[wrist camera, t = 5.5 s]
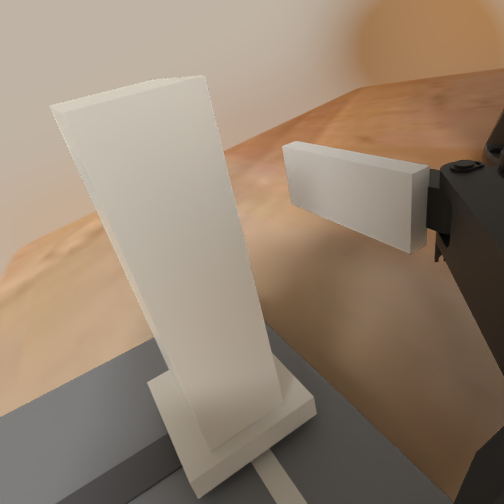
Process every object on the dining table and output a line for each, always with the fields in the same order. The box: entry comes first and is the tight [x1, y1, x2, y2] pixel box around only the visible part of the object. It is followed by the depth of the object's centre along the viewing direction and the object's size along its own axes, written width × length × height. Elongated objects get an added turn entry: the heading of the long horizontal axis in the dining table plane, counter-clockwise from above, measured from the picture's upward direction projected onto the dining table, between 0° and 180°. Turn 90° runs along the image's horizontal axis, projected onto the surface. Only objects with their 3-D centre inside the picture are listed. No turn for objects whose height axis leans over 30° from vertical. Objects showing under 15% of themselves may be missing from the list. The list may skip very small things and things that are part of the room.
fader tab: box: [49, 75, 317, 499], centre depth 12 cm, size 5×5×12 cm
